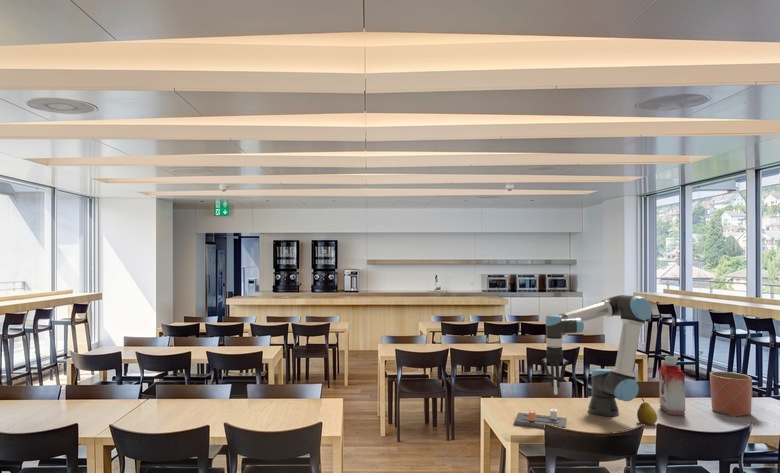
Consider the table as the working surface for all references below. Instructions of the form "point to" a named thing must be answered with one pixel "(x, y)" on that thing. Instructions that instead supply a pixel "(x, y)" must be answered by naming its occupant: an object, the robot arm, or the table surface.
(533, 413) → the fader orange
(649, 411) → the fruit
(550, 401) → the table surface
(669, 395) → the bottle
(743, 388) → the planter
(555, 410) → the fader grey
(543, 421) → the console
